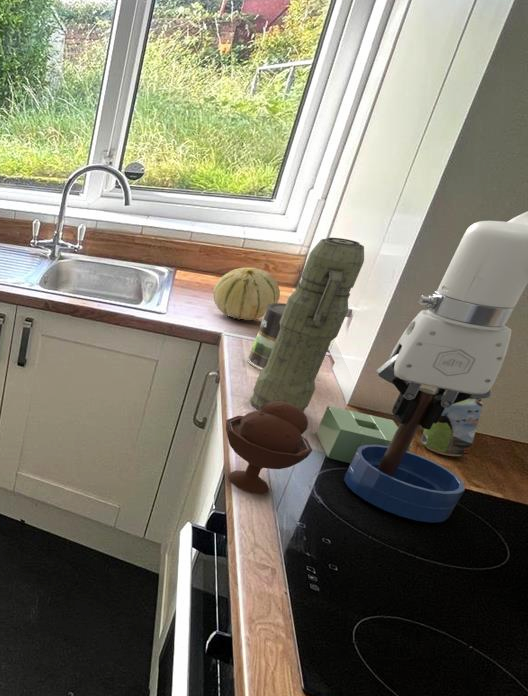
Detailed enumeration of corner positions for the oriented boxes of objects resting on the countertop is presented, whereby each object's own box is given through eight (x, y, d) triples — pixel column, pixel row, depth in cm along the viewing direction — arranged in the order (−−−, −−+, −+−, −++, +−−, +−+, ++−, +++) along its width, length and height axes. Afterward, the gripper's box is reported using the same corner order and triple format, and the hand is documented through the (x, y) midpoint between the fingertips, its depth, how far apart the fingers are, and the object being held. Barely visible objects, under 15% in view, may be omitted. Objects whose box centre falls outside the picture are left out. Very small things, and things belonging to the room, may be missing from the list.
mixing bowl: (429, 490, 95) (445, 459, 93) (460, 537, 85) (480, 504, 83) (334, 465, 100) (348, 436, 98) (353, 507, 90) (369, 475, 88)
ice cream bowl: (216, 454, 102) (244, 379, 96) (295, 485, 95) (330, 406, 89) (200, 480, 95) (229, 401, 89) (284, 516, 88) (321, 432, 82)
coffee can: (242, 365, 135) (263, 309, 130) (252, 353, 142) (271, 299, 137) (297, 382, 129) (321, 323, 123) (304, 368, 136) (327, 312, 130)
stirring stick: (388, 477, 93) (433, 389, 87) (392, 484, 91) (438, 395, 85) (372, 472, 94) (415, 386, 87) (375, 479, 92) (420, 391, 86)
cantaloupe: (266, 316, 166) (285, 266, 161) (271, 332, 155) (292, 279, 149) (206, 304, 173) (221, 256, 168) (206, 319, 162) (223, 268, 156)
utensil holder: (379, 448, 106) (393, 420, 103) (396, 475, 98) (411, 445, 96) (315, 432, 110) (327, 405, 107) (327, 457, 102) (340, 429, 100)
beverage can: (464, 465, 101) (498, 406, 97) (407, 446, 107) (436, 389, 102) (466, 452, 105) (499, 395, 101) (411, 434, 110) (439, 378, 106)
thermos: (295, 400, 121) (363, 237, 108) (310, 428, 111) (387, 252, 98) (244, 389, 125) (304, 230, 111) (254, 415, 115) (321, 244, 101)
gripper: (402, 306, 82) (350, 418, 89) (565, 332, 75) (495, 451, 82) (385, 291, 88) (338, 397, 95) (534, 314, 81) (471, 426, 88)
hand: (411, 421), depth 88 cm, fingers closed on stirring stick, 2 cm apart
